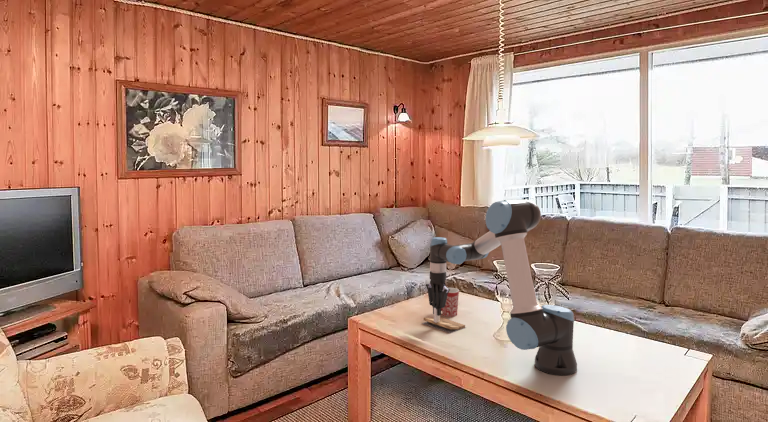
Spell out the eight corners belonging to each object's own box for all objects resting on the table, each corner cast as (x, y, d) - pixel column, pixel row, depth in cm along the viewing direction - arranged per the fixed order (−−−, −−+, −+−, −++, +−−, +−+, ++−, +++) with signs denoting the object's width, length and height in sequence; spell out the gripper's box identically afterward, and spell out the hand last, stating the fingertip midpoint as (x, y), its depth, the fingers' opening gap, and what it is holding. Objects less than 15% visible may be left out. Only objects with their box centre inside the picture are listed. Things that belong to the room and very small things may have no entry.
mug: (461, 314, 251) (461, 288, 250) (455, 320, 243) (455, 293, 242) (437, 311, 257) (438, 286, 256) (431, 316, 249) (431, 290, 247)
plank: (459, 329, 227) (459, 326, 227) (450, 329, 223) (450, 326, 223) (432, 320, 240) (432, 318, 240) (423, 320, 236) (423, 317, 236)
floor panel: (466, 329, 229) (466, 325, 229) (450, 335, 222) (450, 330, 222) (437, 320, 243) (437, 315, 243) (421, 325, 236) (421, 320, 236)
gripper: (454, 272, 225) (452, 323, 227) (433, 267, 234) (432, 316, 237) (443, 275, 220) (441, 327, 222) (422, 269, 230) (420, 319, 232)
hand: (436, 321), depth 229 cm, fingers closed
